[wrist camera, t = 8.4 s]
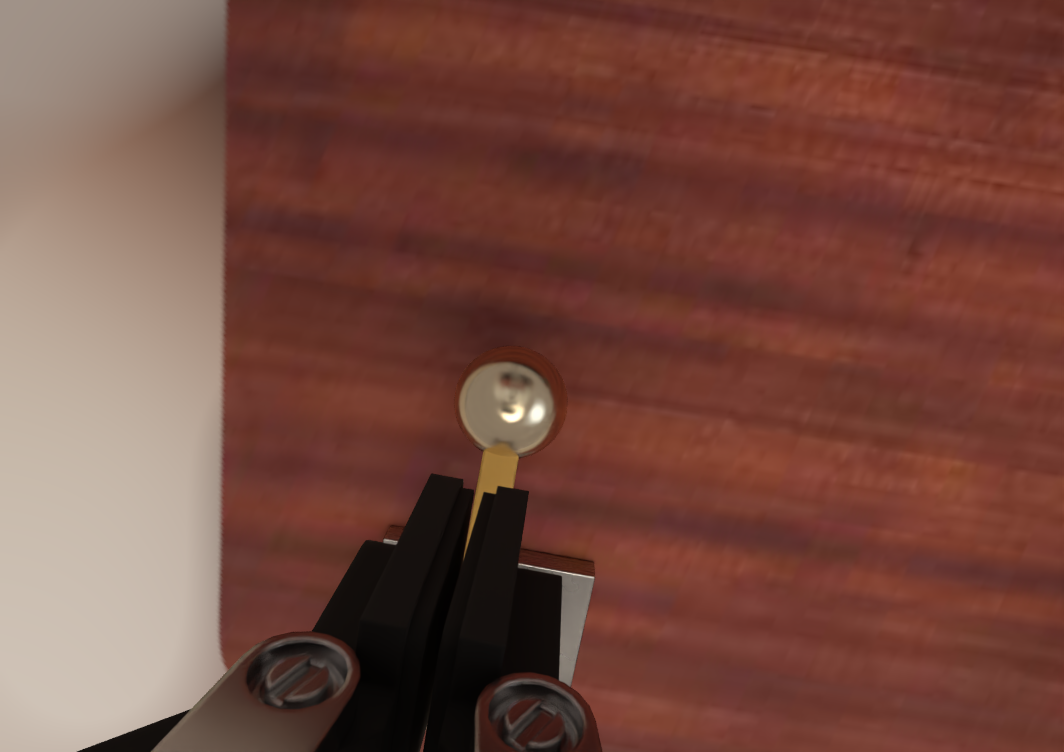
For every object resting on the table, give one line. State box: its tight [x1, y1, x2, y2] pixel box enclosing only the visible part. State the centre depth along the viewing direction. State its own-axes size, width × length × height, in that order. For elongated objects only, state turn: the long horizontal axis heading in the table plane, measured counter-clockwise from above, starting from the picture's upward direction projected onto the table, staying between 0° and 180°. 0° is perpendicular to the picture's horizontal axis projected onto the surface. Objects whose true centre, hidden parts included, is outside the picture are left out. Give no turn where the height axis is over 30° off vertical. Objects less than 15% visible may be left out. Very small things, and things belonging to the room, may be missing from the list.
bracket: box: [383, 526, 595, 687], centre depth 24 cm, size 7×9×13 cm
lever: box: [454, 346, 568, 560], centre depth 21 cm, size 16×4×4 cm, turn 171°
